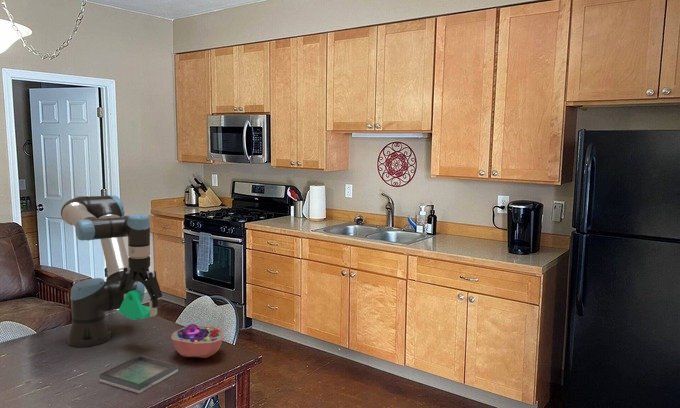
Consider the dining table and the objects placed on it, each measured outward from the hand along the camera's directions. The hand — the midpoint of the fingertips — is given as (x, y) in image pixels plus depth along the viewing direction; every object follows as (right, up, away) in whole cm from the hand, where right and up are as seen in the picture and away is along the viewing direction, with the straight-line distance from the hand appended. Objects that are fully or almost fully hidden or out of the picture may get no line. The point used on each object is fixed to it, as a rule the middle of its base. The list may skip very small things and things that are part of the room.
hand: (140, 312), depth 185 cm
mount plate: (+8, -17, -21) cm, 28 cm away
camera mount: (0, -1, 0) cm, 1 cm away
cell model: (+23, -15, -3) cm, 28 cm away
